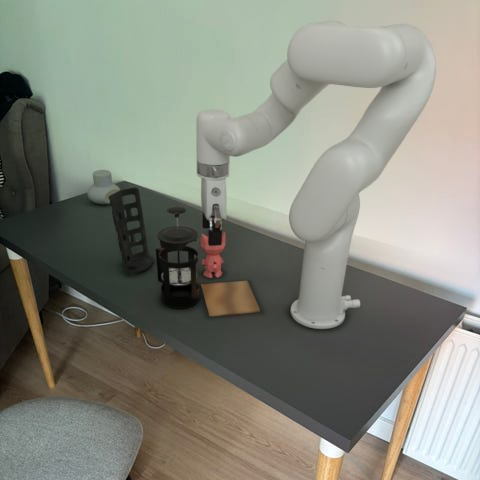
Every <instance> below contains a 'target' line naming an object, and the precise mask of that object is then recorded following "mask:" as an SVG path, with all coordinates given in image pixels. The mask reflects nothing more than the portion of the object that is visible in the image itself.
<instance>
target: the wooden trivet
mask: <svg viewBox="0 0 480 480" xmlns="http://www.w3.org/2000/svg"><path fill="white" fill-rule="evenodd" d="M200 288H201V292H202V295H203V299H204V303H205V306H206V309H207V313H208V317H219V316H221V317H222V316H232V315H242V314H243V315H244V314H254V313H255V314H256V313H260V312H261V308H260V306H259V304H258V302H257V300H256V297H255V295H254V292H253V291H252V287H251V286H250V283H249V281H248V280H239V281H238V280H237V281H225V282H224V281H223V282H214V283H213V282H212V283H211V282H210V283H201V284H200Z"/></svg>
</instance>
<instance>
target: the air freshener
mask: <svg viewBox="0 0 480 480" xmlns="http://www.w3.org/2000/svg"><path fill="white" fill-rule="evenodd" d="M92 180H93V184H92V185H90V186H89V187H88V189H87V191H86V194H87V198H88V199H89V200H90V201H91V202H92V203H94V204H97V205H101V206H102V205H105V206H109V205H110V200H109V196H110V195H112V194H114V193H116V192H118V191H120V190H121V188H120V187H119V186H118V185H117V184H115V183H113V178H112V171H110V170H108V169H97V170H95V171H93V172H92Z"/></svg>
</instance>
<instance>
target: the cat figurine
mask: <svg viewBox="0 0 480 480" xmlns="http://www.w3.org/2000/svg"><path fill="white" fill-rule="evenodd" d="M226 240H227V239H226V231H224V232H222V244H221V245H216V246H209V244H208V235H205V234H203V233H201V234H200V243H199V246H200V247H199V249H202V251H203V252H204V253H205V254H206V257H205V258H203V259H202V260H201V263H200V264H201V265H202V266H204V269H205V270H204V272H203V273H202V274H203V276H204V277H206V278H209V279H211V278H213V276H215V278H219V277H221V276H222V275H223V272H222V265H223V264H224V259H223V257H221V255H220V253H222V252H223V251H224V249H225V247H226V243H227V241H226ZM213 273H214V274H213Z"/></svg>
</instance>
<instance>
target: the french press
mask: <svg viewBox="0 0 480 480" xmlns="http://www.w3.org/2000/svg"><path fill="white" fill-rule="evenodd" d="M166 212H167V213H169V214H171V215H172V214H173V215H174V218H175V222H176V223H175V224H176V226H175V225H173V226H168V227H165V228H162V229H161V230H159V231H158V232H157V235H156V237H157V239H158V240H159V247H157V248H155V259H156V261H155V262H156V272H157V274H156V275H157V281H158V283H160V284H161V285H160V293H161V294H160V302H161V304H162V305H163V306H165V307H167V308H169V309H173V310H186V309H187V310H188V309H190V308H193V307H195V306H197V305H198V304H199V303H200V300H201V295H200V285H199V283H198V282H197V280H198V273H197V263H198V262H199V251H198V250H197V249H195V248H193V247H192V246H188V244H190V243H193V242H197V239H198V238H199V233H198V231H197V230H195V229H194V228H192V227H188V226H182V225H181V226H180V225H179V218H180V215H181V214H184V213H186V212H187V207H185V206H182V205H172V206H169V207H167V209H166ZM171 252H172V253H173V252H177V262H170V261H169V253H171ZM180 252H187V259H188V260H187V261H186V262H181V261H180V260H181V259H180V257H181V256H180ZM178 291H183V292H189V293H190V294H188V295H183V296H177V295H171V294H172V293H174V292H178Z"/></svg>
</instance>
